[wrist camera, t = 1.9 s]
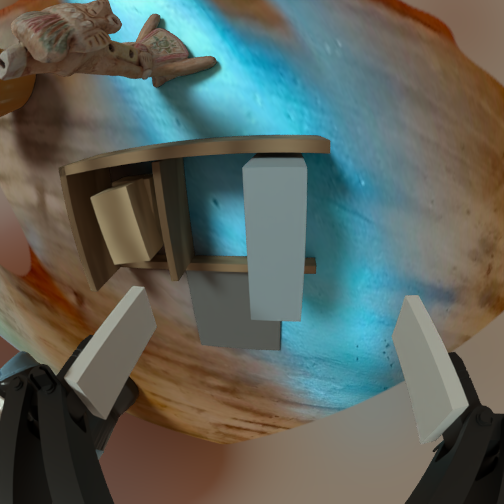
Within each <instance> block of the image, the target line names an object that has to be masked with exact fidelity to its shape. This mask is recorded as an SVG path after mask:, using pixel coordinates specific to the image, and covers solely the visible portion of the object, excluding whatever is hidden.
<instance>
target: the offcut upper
mask: <svg viewBox="0 0 504 504" xmlns="http://www.w3.org/2000/svg"><path fill="white" fill-rule="evenodd" d="M90 198H91V201H92V205H93V208H94V211H95V214H96V217H97V220H98V223H99V225H100V228H101V231H102V234H103V237H104V239H105V242H106V245H107V247H108V250H109V252H110V255H111V257H112V260H113V262H114V265H116V264H125V263H133V262H142V261H150V260H151V259H152V258H153V257H154V256H155V254H156V253H157V252H158V251H159V250H160V249H161V248H162V247H163V243H162V240H161V237H160V234H159V231H158V228H157V225H156V221H155V218H154V215H153V212H152V208H151V205H150V201H149V198H148V195H147V191H146V187H145V184H144V180H143V178H141V179H137V180H134V181H131V182H127V183H124V184H120V185H117V186H114V187H111V188H108V189H106V190H104V191H102V192H100V193H98V194H96V195H94V196H92V197H90Z"/></svg>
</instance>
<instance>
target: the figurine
mask: <svg viewBox="0 0 504 504" xmlns="http://www.w3.org/2000/svg"><path fill="white" fill-rule="evenodd" d="M159 22H160V15H158V14H152V15H151V16H150V17H149V18H148V20H147V21H146V23H145V24H144V26H143V28H142V30H141V31H140V33H139V36H138V38H137V40H136V42H125V43H119V42H115V41H112V40H111V38H110V37H109V35H108V34H113V33H116V32H117V31H119V30H120V29H121V26H122V23H121V21H120V19H119V18H118V17H117V16H116V15H115V14H113V12H112V10H111V7H110V3H109V1H108V0H97V1H93V2H90V3H87V4H80V3H72V4H71V3H64V4H58V5H55V6H51V7H48V8H46V9H44V10H42V11H32V12H27V13H24V14H22V15H21V16H19V17H18V18H16V19H15V20H14V21H13V22H12V24H11V29H12V33H13V34H14V35H15V36H16V37H17V38H18V39H19V44H16V45H12V46H10V47H9V48H7V49H5V50H4V51H3V52H2V53H1V54H0V79H1V80H10V79H14V78H19V77H23V76H27V75H31V74H41V73H54V74H57V75H59V76H63V77H65V76H71V75H72V74H74V73H85V74H97V75H110V76H124V77H127V78H131V79H139V78H142V79H143V80H144V79H147V78H148V77H152V82H153V86H154V87H156V88H157V87H160V86H161V85H162V84H164V83H165V82H167V81H169V80H171V79H174V78H176V77H178V76H184V75H189V74H193V73H196V72H199V71H202V70H205V69H209V68H211V67H213V66H214V65H215V64H216V59H215V58H214V57H212V56H205V57H195V58H188V56H189V53H188V50H187V49H186V47H185V45H184V44H183V43H182V41H181V40H180V39H179V38H178V37H176V36H175V35H173V34H172V33H170V32H169V31H167V30H165V29H162V28H157V26H158V24H159Z"/></svg>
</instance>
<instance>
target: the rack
mask: <svg viewBox="0 0 504 504" xmlns="http://www.w3.org/2000/svg"><path fill="white" fill-rule="evenodd" d="M269 152H296V153H330V140H328V139H326V138H323V137H321V136H318V135H252V136H232V137H217V138H205V139H194V140H185V141H176V142H168V143H161V144H154V145H147V146H141V147H135V148H129V149H124V150H119V151H113V152H109V153H104V154H100V155H96V156H93V157H90V158H86V159H83V160H80V161H77V162H74V163H71V164H68V165H65V166H62V167H59V174H60V180H61V185H62V190H63V195H64V200H65V204H66V209H67V213H68V217H69V221H70V225H71V229H72V233H73V236H74V240H75V243H76V247H77V250H78V253H79V257H80V260H81V263H82V266H83V269H84V272H85V275H86V278H87V281H88V283H89V286H90V289H91V291H95V292H97V291H98V290H99V289H100V288H101V287H102V286H103V285H104V284H105V283H106V282H107V281H108V280H109V279H110V278H111V277H112V276H113V274H114V273H115V272H116V271H117V270H118V269H119V268H120V267H130V268H150V269H169V271H170V276H171V280H172V281H179V279H180V278H181V276H182V275H183V273H184V272H185V270H195V271H222V272H248V261H247V256H206V255H195V251H194V245H193V238H192V231H191V223H190V216H189V208H188V200H187V191H186V182H185V173H184V163H183V157H190V156H202V155H216V154H235V153H269ZM153 160H157V161H154V162H152V171H153V179H154V186H155V193H156V200H157V206H158V213H159V219H160V224H161V230H162V236H163V241H164V246H165V252H166V255H163V254H155V256H154V257H153V258H152V259H151V260H150V261H142V262H133V263H125V264H116V265H114V262H113V260H112V257H111V255H110V252H109V250H108V247H107V245H106V242H105V239H104V237H103V234H102V231H101V228H100V225H99V223H98V220H97V217H96V214H95V211H94V208H93V205H92V201H91V198H90V197H92V196H94V195H96V194H98V193H100V192H102V191H104V190H106V189H108V188H111V187H112V185H111V178H110V172H109V167H112V166H118V165H124V164H131V163H138V162H145V161H153ZM304 274H316V260H315V258H305V263H304Z"/></svg>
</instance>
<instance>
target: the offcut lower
mask: <svg viewBox="0 0 504 504" xmlns="http://www.w3.org/2000/svg"><path fill="white" fill-rule="evenodd" d="M141 178H143V180H144V184H145V187H146V191H147V195H148V198H149V201H150V205H151V208H152V212H153V215H154V218H155V221H156V225H157V228H158V231H159V234H160V237H161V240H162V243H163V244H164V241H163V236H162V230H161V224H160V219H159V213H158V206H157V200H156V193H155V186H154V179H153V173H152V174H141V175H132V176H126V177H123V178H121V179H119V180H117V181H115V182H112V185H113V187H114V186H117V185H120V184H124V183H127V182H131V181H134V180H137V179H141Z"/></svg>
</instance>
